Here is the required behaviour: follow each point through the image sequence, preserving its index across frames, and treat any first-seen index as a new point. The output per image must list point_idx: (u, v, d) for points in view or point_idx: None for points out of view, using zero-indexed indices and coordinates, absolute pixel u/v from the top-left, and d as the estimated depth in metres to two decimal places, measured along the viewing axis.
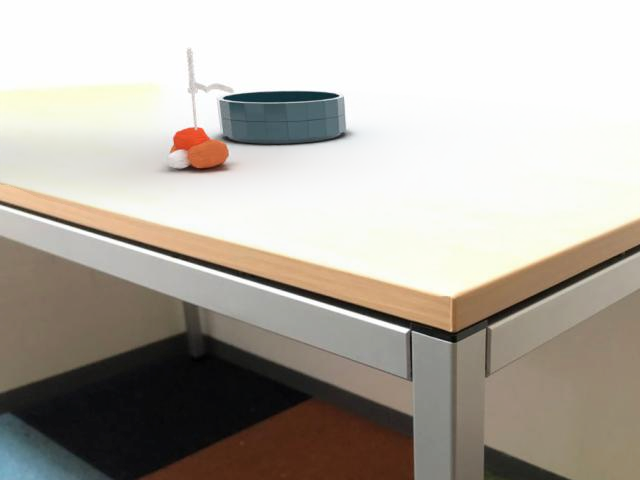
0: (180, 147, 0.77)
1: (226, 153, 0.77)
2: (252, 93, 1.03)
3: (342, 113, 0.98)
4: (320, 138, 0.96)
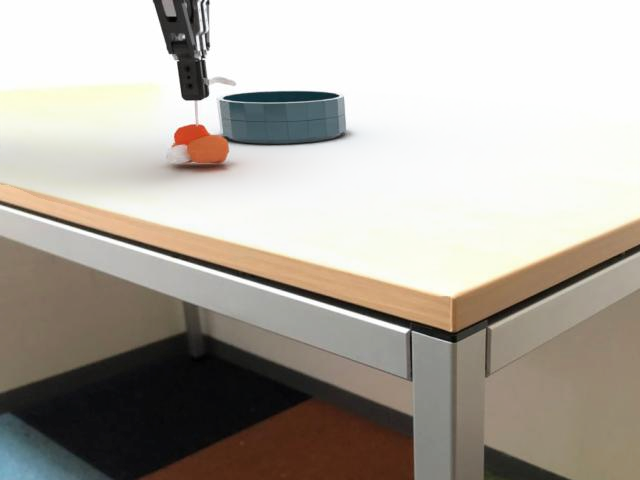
0: (180, 142, 0.78)
1: (226, 148, 0.77)
2: (252, 93, 1.03)
3: (342, 113, 0.98)
4: (320, 138, 0.96)
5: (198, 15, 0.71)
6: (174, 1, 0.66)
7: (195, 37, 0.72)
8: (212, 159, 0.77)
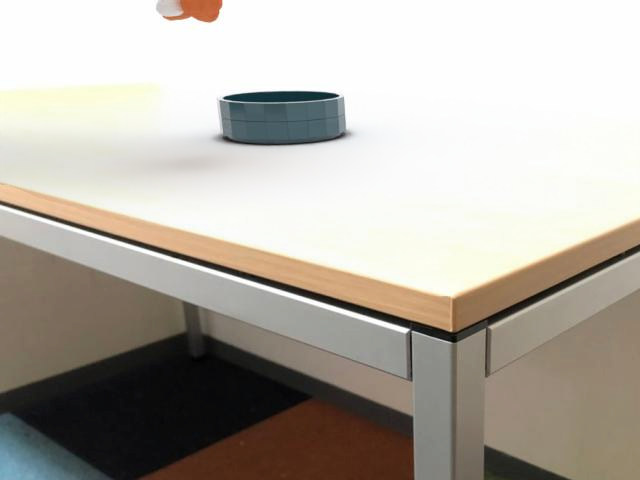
0: None
1: None
2: (252, 93, 1.03)
3: (342, 113, 0.98)
4: (320, 138, 0.96)
5: None
6: None
7: None
8: (205, 11, 0.74)
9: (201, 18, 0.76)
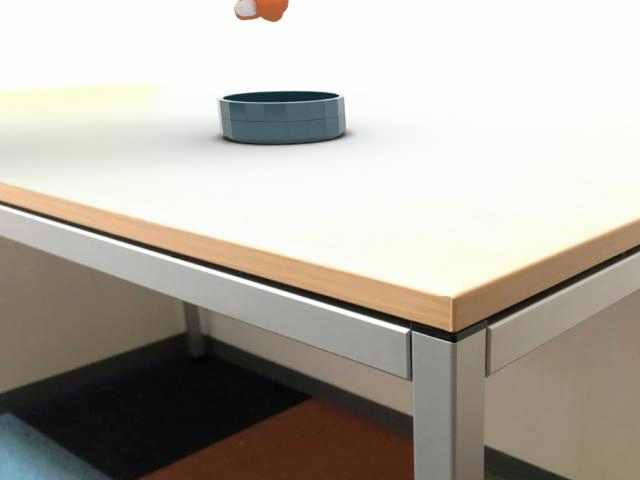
0: None
1: (287, 2, 0.91)
2: (252, 93, 1.03)
3: (342, 113, 0.98)
4: (320, 138, 0.96)
5: None
6: None
7: None
8: (276, 11, 0.91)
9: (269, 18, 0.93)
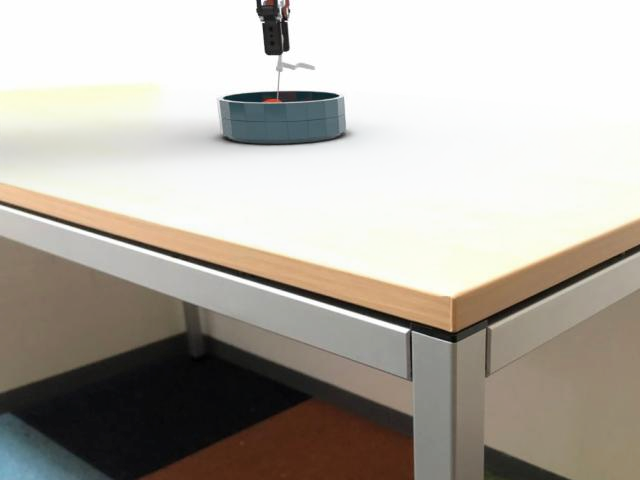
0: None
1: None
2: (252, 93, 1.03)
3: (342, 113, 0.98)
4: (320, 138, 0.96)
5: None
6: None
7: (278, 2, 0.90)
8: None
9: None
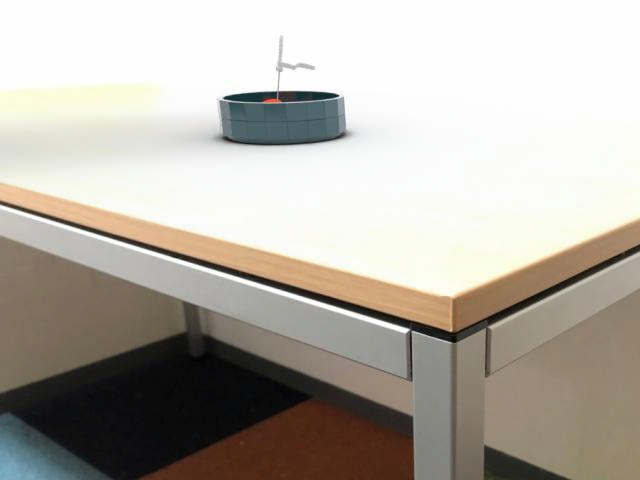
0: None
1: None
2: (252, 93, 1.03)
3: (342, 113, 0.98)
4: (320, 138, 0.96)
5: None
6: None
7: None
8: None
9: None
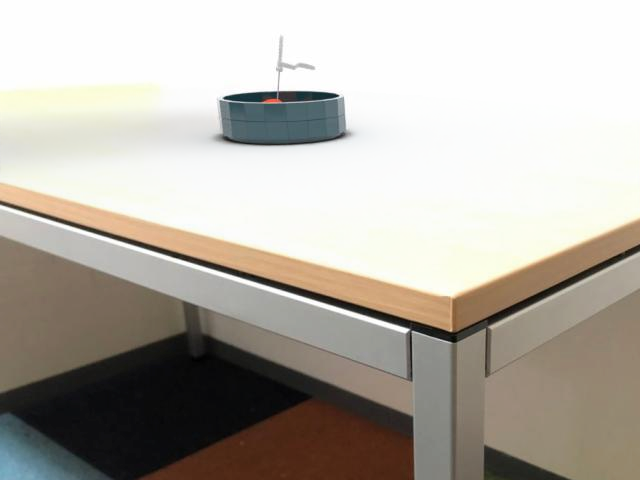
0: None
1: None
2: (252, 93, 1.03)
3: (342, 113, 0.98)
4: (320, 138, 0.96)
5: None
6: None
7: None
8: None
9: None
